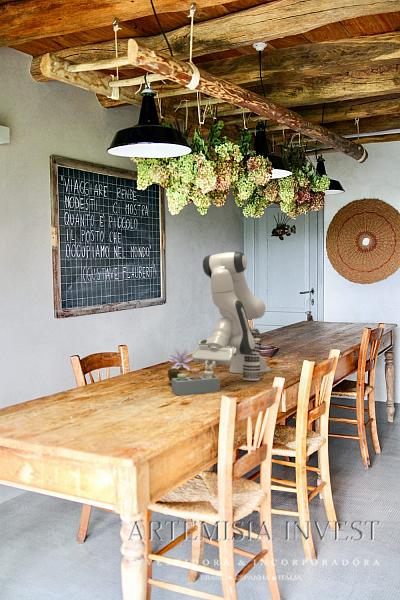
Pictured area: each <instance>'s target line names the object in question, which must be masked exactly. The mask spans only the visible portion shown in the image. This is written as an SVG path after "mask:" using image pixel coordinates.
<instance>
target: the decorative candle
mask: <svg viewBox="0 0 400 600" xmlns="http://www.w3.org/2000/svg"><path fill="white" fill-rule="evenodd" d="M251 333H252V335H253V337H254V339H255V349H254V350H253V351H252V352H251V353H250V354H249V355H245V354H243V356H244V365H243V367H244V368H243V370H244V371H243V373H242V374H243V375H242V377H243V378H242V380H245V381H260V380H261V378H260V377H261V376H260V374H261V373H260V372H259V370H260V369H259V367H260V362H259V356H260V355H261V354H260V353H261V352H262V351H261V349H262V348H261V346H262V340H261V331H260V330H259V329H258V328H251Z"/></svg>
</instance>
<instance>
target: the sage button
mask: <svg viewBox="0 0 400 600" xmlns="http://www.w3.org/2000/svg"><path fill="white" fill-rule="evenodd" d="M186 377H188V376H187V373H182V374H178V378H179V381H185V378H186Z"/></svg>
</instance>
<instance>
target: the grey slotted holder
mask: <svg viewBox="0 0 400 600" xmlns="http://www.w3.org/2000/svg"><path fill="white" fill-rule="evenodd" d="M220 379H221V378H220V377H218V376H216V375H214V374H212V378H208V379H206V375H199V379H197V380H192V376H187V377H186V378H185V381H179V378H172V381H171V392H172V393H173V394H175V395H177V396H187V395H196V394H197V395H198V394H208V393H218V392H220V391H221V380H220Z"/></svg>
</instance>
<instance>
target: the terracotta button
mask: <svg viewBox="0 0 400 600" xmlns="http://www.w3.org/2000/svg"><path fill="white" fill-rule="evenodd" d="M190 372H191V373H192V375H191V377H192V380H197V379H199V376H200V372H201V369H200V368H197V367H195V368H191V369H190Z"/></svg>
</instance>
